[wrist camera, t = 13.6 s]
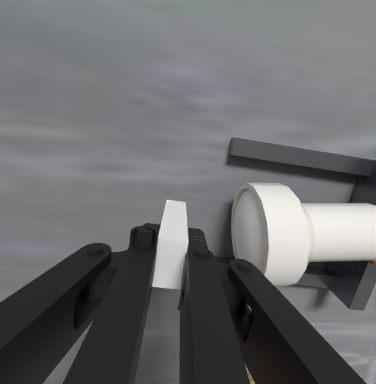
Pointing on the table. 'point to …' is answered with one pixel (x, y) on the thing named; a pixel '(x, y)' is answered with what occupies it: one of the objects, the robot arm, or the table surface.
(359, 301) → the channel
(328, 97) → the table surface
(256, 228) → the spotlight
